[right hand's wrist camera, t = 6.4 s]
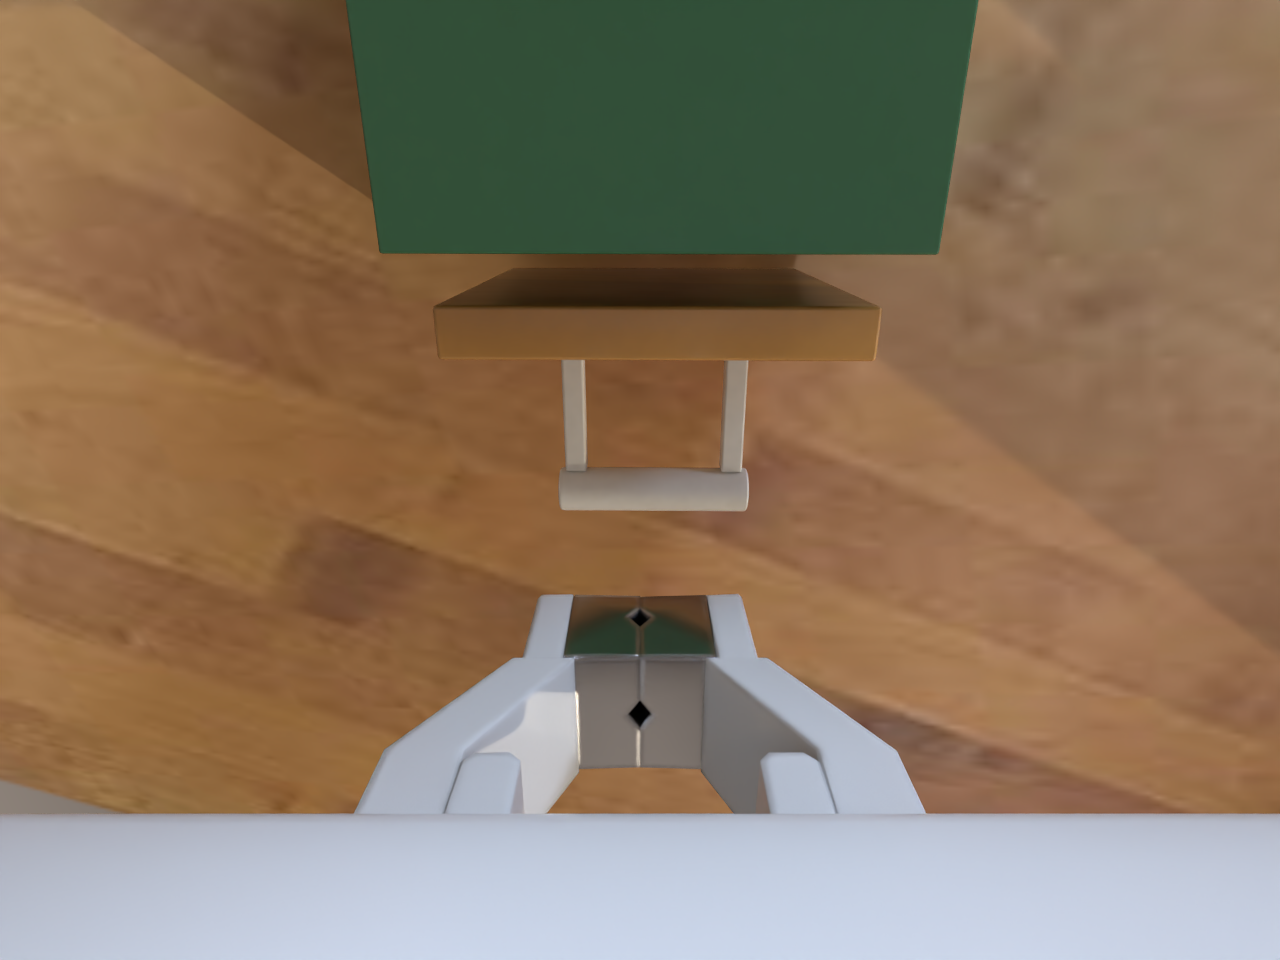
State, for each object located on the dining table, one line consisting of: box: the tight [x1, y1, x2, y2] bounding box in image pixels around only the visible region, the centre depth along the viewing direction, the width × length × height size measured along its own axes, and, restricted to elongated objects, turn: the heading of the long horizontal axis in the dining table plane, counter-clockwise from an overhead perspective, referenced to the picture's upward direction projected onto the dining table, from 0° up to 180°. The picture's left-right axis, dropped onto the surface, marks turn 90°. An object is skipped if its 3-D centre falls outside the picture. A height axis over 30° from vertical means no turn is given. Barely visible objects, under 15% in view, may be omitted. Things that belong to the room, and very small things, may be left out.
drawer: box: [433, 268, 882, 511], centre depth 17 cm, size 25×10×10 cm, turn 0°
